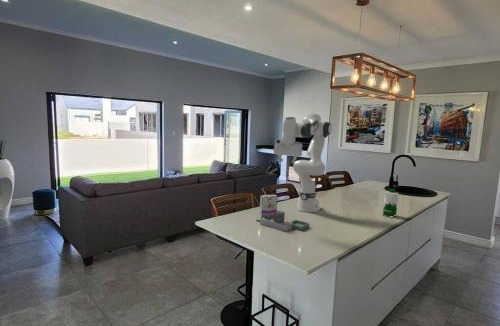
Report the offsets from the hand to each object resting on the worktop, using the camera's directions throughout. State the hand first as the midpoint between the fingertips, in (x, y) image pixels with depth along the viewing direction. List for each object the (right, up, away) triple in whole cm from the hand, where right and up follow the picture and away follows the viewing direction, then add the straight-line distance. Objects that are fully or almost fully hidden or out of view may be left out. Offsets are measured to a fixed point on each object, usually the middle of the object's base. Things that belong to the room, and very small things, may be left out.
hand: (286, 162), depth 195 cm
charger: (-6, -40, -9) cm, 41 cm away
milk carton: (+82, -41, +27) cm, 95 cm away
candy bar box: (-12, -40, +9) cm, 42 cm away
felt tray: (+6, -42, -7) cm, 43 cm away
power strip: (-10, -41, -6) cm, 43 cm away
